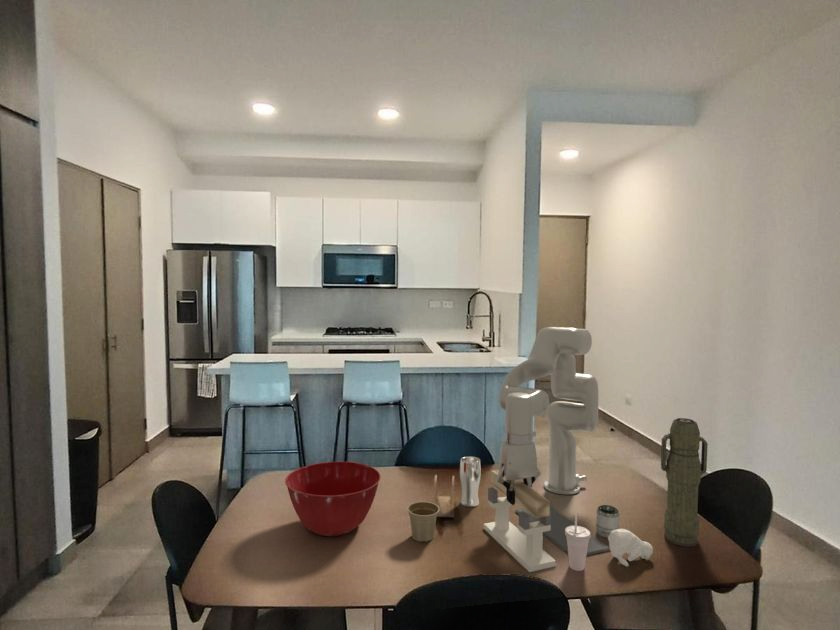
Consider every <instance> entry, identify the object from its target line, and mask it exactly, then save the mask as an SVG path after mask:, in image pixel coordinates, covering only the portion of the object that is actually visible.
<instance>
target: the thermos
mask: <svg viewBox="0 0 840 630" xmlns="http://www.w3.org/2000/svg"><path fill="white" fill-rule="evenodd" d="M698 425H699V424H698V422H697V421H694V420H693V419H690V418H685V417H684V418H682V417H679V418H674V419H673V421H672V423H671V425H670V427H669V433H667V434H664V435H663V437H662V438H661V452H660V453H661V454H660V468H661V471H664V472H666V474H665V478H666V480H667V492H666V493H667V494H666V495H667V497H666V510H665V511H664V517H663V518H664V521H663V527H664V538H665V539H666V540H667V541H668V542H670V543H672V544H675V545H677V546H680V547H681V546H682V547H694V546H697V545H698V543H699V541H698V540H699V539H698V537H699V532H700V519H699V516H698V508H699V507H698V505H699V503H698V502H699V485H700V483H701V481H702V480H701V478H702V477H701V476H702V475H704V474H705V473H707V469H708V468H707V464H708V463H707V462H708V442H707V440H705V438H704V437H702V436H701V432H700V428H699V426H698ZM668 440H669V446H670V447H669V448H670V449H669V450H668V451H669V452H668V455H667V441H668ZM700 442H701V453H699V450H700ZM700 455H701V457H700ZM700 459H701V460H700Z"/></svg>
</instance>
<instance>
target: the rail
mask: <svg viewBox="0 0 840 630" xmlns="http://www.w3.org/2000/svg"><path fill="white" fill-rule="evenodd" d="M490 471H491V475H490V476H491V479H490V480H491V485H493V486H494V488H496V489H497V490H499V491H500V492H502V493H503V494H504V495H505V496H506V487H505V486H504V485H503V484H501V483H499V482H497V481H496V477H497V475H498V473H499V469H493V470H490ZM503 480H506V476H504V477H503ZM513 490H514V491H515V502H516V503H517V506H520V507H521V508H523V509H525V510H526V511H527V512H529V513H530V514H531V515H532V516H534V517H535V518H541V517H546V516H549V511H550V506H551V505H550V504H551V502H550V500H549V499H547V497H545V496H544V495H542V494H540V493H538V491H536V490H534V489H533V488H532V487H531V488H530V487H529V486H527V485H526V484H524V483H523V481H521V479H518V480H515V482H514V488H513Z"/></svg>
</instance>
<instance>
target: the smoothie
mask: <svg viewBox="0 0 840 630" xmlns="http://www.w3.org/2000/svg"><path fill="white" fill-rule="evenodd" d="M574 523H575V526H569V527H567V528H566V529H565V535H566V537H567V546H568V553H567V554H568V562H569V565H568V566H569V568H570V569H571V570H572V571H576V572H581V571H584V570H585V566H586V561H587V556H588V555H587V548H588V542H589V539H590V537H591V535H592V534H591V531H590V530H589V529H588V528H586V527H584V526H581V525H578V515H577V514H574ZM577 525H578V526H577ZM590 534H591V535H590ZM586 555H587V556H586Z"/></svg>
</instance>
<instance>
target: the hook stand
mask: <svg viewBox="0 0 840 630" xmlns="http://www.w3.org/2000/svg"><path fill="white" fill-rule="evenodd" d="M498 492H499V491H498V489H497V488H496V489H495V487H493V486H492V487H491V486H490V487H488V489H487V505H488V506H489V507H491V509H493V510H494V509H495V512H494V513H495V514H494V515H495V516H494V520H495V521H491V522H487V523H485V522H484V523H483V529H484V531H486V532H487V534H489V535H490V536H491V537H492V538H493V539H494V540H495V541H496V542H497V543H498V544H499V545H500V546H502V548H503V549H504V550H506V551H507V552H508V553H509V554H510V556H512V557H513V558H514V559H515V560H516V561H517V562H518V563H519V564H520V565H521V566H522V567H524V568H525V569H526V570H527V571H528V573H532V572H537V571H541V570H544V569H550V568H555V567H556V566H557V563H556V562H557V561H556V560H555V559H554V558H553V556H551V555H550V554H549V553H548V552H546V551H545V550H544V549H543V542H544V541H543V538H544V537H543V535H544V534H543V532H545V531H550V530H551V512H550V511H549V516H546V517H541V518H540V521H536V522H531V523H530V516H529V515H528V514H527V513H525V512H524V511H522V512H519V514H518V527H517V526H515V525H514V524H513V523H512V522H511V521H510V506H516V505H517V506H518V504H517V503H516V502H515V504H514V505H512V504H511V503H509V502H508V501H507V498H506V496H500V497H498V496H499V493H498Z"/></svg>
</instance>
